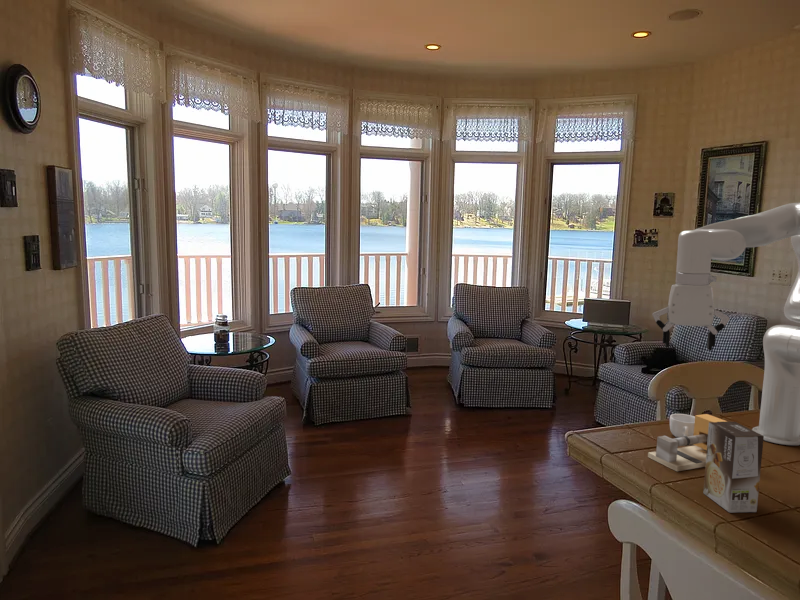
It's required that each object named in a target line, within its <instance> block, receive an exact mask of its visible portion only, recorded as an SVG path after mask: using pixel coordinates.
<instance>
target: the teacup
mask: <svg viewBox="0 0 800 600" xmlns="http://www.w3.org/2000/svg"><path fill="white" fill-rule="evenodd" d="M694 423H695V416H694V415H691V414H686V413H672V414H670V415H669V430H670V433H671V434H672V435H673V436H674V438H681V437H685V436H687V437H688V436H693V434H694Z"/></svg>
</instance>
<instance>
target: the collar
mask: <svg viewBox="0 0 800 600" xmlns="http://www.w3.org/2000/svg"><path fill="white" fill-rule="evenodd" d="M694 417H695V423H694V434H693V436H695V435H702V434H708V428H709V422H729V421H727V420H725V419H723V418H722V419H721V418H720V417H717V416H714V415H711V414H709V413H703V414H697V415H695V416H694ZM695 445H696V446H698V447H700V448H703V449H705V450H707V442H705V443H698V444H692V446H695Z"/></svg>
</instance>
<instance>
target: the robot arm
mask: <svg viewBox="0 0 800 600" xmlns="http://www.w3.org/2000/svg"><path fill="white" fill-rule="evenodd" d="M789 238H790V244H791V246H792V249H793V252H794V255H795V258H796V259H797V264H798V270H797V271H798V272H797V274H796V277H795V279H794V283H792V286H791V289H790V290H789V293H788V296H787V299H786V301H785V303H784V306H783V315H784V316H785V318H786V319H787V320H789V321H791V322H795V323H797V324H800V202H789V203H786V204H783V205H780V206H777V207H774V208H770V209H768V210H765V211H761V212H758V213H755V214H749V215H745V216H740V217H737V218H734V219H733V218H732V219H728V220H723V221H722V220H721V221H718V222H714V223H710V224H707V225H704V226H701V227H698V228H695V229H691V230H690V229H689V230H683V231H682V230H681V232H680V233H679V234H678V240H677V254H676V270H675V272H676V273H675V284H672V285H671V287H670V292H669V295H668V303H667V306H666V307H663V308H661V309H659V310H657V311H653V312H652V314H651V315H652V317H653V319H654V321H655V323H656V325H657V326H658V327H659V328H660V329H661V330H662V344H664V347H665V348H669V347H670V338H671V336H670V335H671V332H670V329H671V328H672V327H673V326H675V325H676V326H687V327H706V328H707V330H709V332H708V333H707V338H706V339H707V340H706V348H707V351H713V348H714V347H716V337H717V336H716V335H718V333H719V332H721V331H722V330H723V329H724V328H725V327H726V325H727V324H728V322H729V321H730V319H731V318H730V317H729V316H728V315H726V314H724V313H722V312H720V311H719V310H717V309H715V304H714V303H715V302H714V291H713V286H712V285H711V284H712V283H713V282H717V276H714V275H712V273H711V266H712V264H711V263H712V260H719V261H721V260H722V261H729V260H735V259H736V258H738V257H740V256H741V255H742V254H743V253H744V252H745V249H746V248H757V247H764V246H765V247H766V246H769V245H771V244H774V243H777V242H780V241H783V240H785V239H789ZM665 314H666V318H667V321H666V322H665V323H664V322H663V321H662V320H661V319H660V318H661V317H660V316H662V315H665ZM714 316H715V317H716V318H719V319H720V321H719V323H717V324H715V326H714V325H713V323H714ZM762 347H763V354H764V374H763V382H762V390H761V391H762V393H761V403H760V411H759V419H758V420H759V422H758V425H757V426H754V427H752V428H751V430H753V431H755V432H757V433H759V434H761V435H763V436H764V439H763V441H765V442H769V443H774V444H777V445H778V444H779V445H784V446H785V445H786V446H800V326H797V325H791V324H790V325H789V324H776V325H773V326H770V328H767V330H766V332H765V333H764V335H763V339H762Z"/></svg>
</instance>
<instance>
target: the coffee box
mask: <svg viewBox="0 0 800 600" xmlns="http://www.w3.org/2000/svg"><path fill="white" fill-rule="evenodd" d="M763 439H764V436H763V435H761V434H759V433H757V432H755V431H753V430H752V428H748V427H746V426H744V425H742V424H741V423H738V422H737V421H728V422H709V428H708V441H707V454H706V466H705V467H704V469H705V470H704V478H703V479H704V481H703V495H705V496H706V497H707V498H709V499H711V500H712V501H713V502H715V503H716V504H717V505H718V506H719V507H721V508H722V509H724V510H725V511H726V512H728V513H757V510H758V500H759V490H760V481H761V469H762V459H763V448H764V447H763V446H764V440H763Z"/></svg>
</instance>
